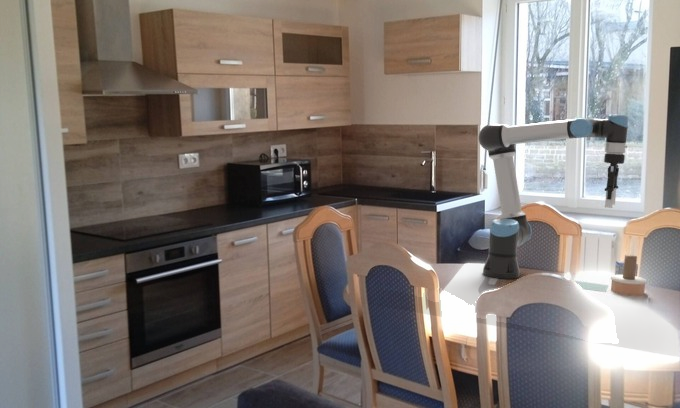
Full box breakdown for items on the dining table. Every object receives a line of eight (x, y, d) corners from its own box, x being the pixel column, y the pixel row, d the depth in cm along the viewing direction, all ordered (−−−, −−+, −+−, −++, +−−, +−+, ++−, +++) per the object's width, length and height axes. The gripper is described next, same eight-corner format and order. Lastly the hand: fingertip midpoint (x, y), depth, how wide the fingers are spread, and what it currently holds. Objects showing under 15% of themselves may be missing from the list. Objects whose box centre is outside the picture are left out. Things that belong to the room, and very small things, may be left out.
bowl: (609, 293, 270) (610, 281, 269) (612, 287, 281) (613, 275, 280) (643, 298, 265) (644, 285, 264) (644, 291, 276) (645, 279, 275)
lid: (609, 281, 269) (611, 256, 268) (612, 275, 281) (614, 251, 279) (645, 286, 264) (648, 260, 262) (647, 279, 275) (649, 255, 274)
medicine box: (633, 282, 292) (635, 261, 291) (636, 284, 288) (638, 264, 287) (613, 280, 293) (615, 260, 292) (616, 283, 289) (618, 262, 288)
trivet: (570, 288, 276) (570, 287, 276) (575, 282, 287) (575, 280, 287) (605, 293, 270) (605, 292, 270) (608, 286, 282) (608, 285, 282)
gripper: (622, 155, 265) (617, 209, 268) (626, 153, 288) (622, 203, 290) (601, 153, 269) (597, 208, 271) (607, 151, 291) (603, 202, 294)
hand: (609, 205), depth 281 cm, fingers open, 13 cm apart
